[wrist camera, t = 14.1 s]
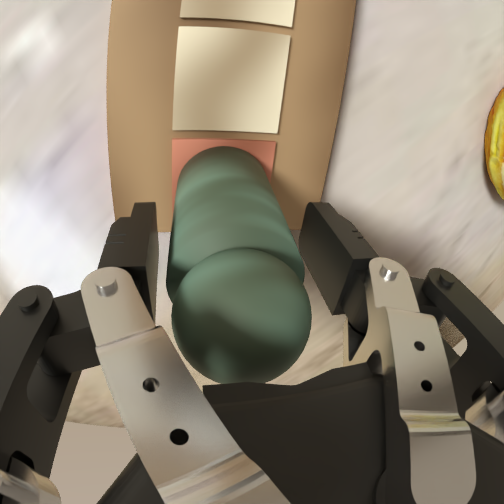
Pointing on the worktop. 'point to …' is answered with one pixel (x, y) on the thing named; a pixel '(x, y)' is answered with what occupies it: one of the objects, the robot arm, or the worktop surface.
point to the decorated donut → (496, 144)
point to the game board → (224, 93)
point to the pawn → (234, 272)
